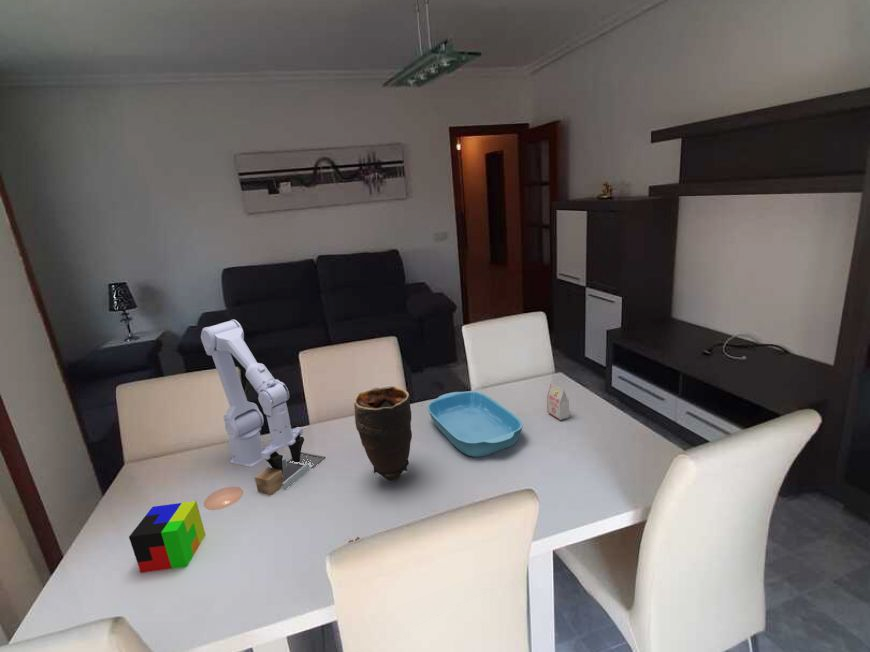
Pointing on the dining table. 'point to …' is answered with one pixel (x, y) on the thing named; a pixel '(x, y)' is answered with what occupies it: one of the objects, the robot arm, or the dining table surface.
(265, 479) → the walnut block
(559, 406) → the milk carton
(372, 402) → the clay pot
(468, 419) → the casserole dish
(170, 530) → the puzzle toy
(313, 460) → the tray
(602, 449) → the dining table surface
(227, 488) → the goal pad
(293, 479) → the grey parallel rails
